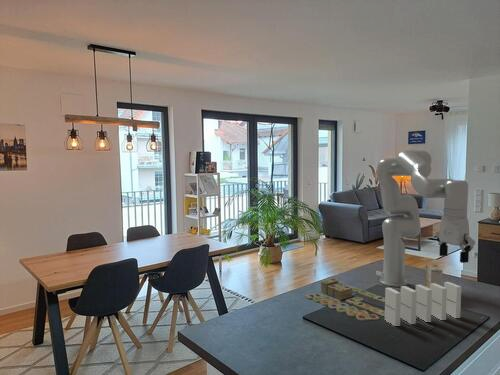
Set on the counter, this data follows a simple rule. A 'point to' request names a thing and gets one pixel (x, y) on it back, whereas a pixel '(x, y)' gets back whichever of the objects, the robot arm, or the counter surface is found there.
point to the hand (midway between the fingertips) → (453, 258)
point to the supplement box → (433, 275)
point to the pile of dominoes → (345, 292)
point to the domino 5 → (453, 299)
